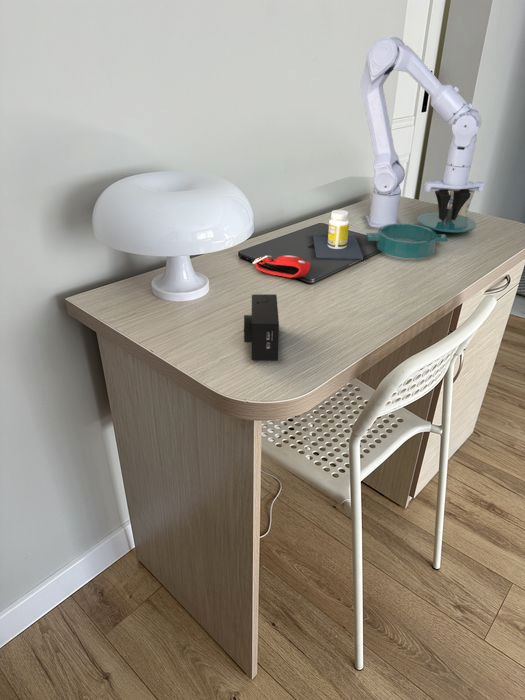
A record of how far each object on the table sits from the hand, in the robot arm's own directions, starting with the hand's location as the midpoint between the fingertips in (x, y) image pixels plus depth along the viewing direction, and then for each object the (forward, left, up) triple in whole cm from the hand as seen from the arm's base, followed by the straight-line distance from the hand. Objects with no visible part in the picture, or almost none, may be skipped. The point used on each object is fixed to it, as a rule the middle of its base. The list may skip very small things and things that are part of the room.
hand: (447, 218), depth 132 cm
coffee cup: (-13, +7, -4) cm, 15 cm away
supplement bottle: (+12, -29, -4) cm, 32 cm away
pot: (+12, -13, -4) cm, 18 cm away
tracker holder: (+26, -43, -4) cm, 50 cm away
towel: (+12, -29, -4) cm, 32 cm away
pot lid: (0, 0, -1) cm, 1 cm away
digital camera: (+57, -47, -4) cm, 74 cm away
